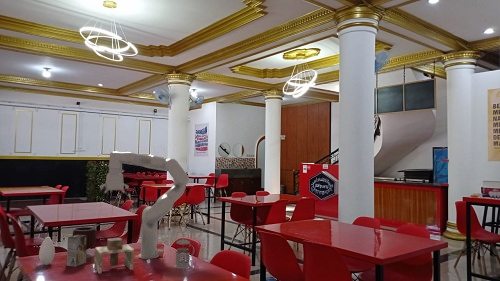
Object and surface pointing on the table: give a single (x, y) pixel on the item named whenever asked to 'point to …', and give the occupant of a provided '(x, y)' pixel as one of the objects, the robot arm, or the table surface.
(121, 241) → the hanger peg
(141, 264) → the table surface
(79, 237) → the coffee box
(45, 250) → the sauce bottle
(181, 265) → the french press
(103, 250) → the stand
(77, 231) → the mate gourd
